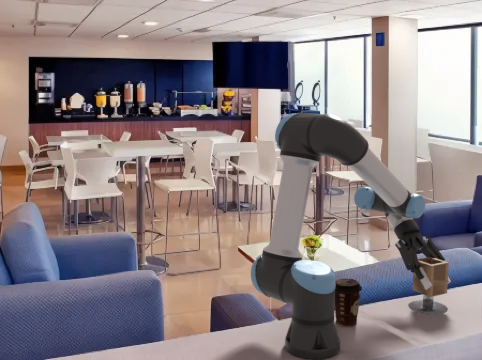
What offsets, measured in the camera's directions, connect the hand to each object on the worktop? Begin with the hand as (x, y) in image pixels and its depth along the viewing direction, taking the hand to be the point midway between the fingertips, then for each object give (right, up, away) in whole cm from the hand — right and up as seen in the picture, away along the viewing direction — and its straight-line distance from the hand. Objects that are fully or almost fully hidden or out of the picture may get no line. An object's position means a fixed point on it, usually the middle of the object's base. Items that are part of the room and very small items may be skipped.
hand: (438, 285), depth 186 cm
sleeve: (-2, -3, +3) cm, 5 cm away
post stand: (-2, -9, +4) cm, 10 cm away
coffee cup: (-29, -11, -4) cm, 32 cm away
